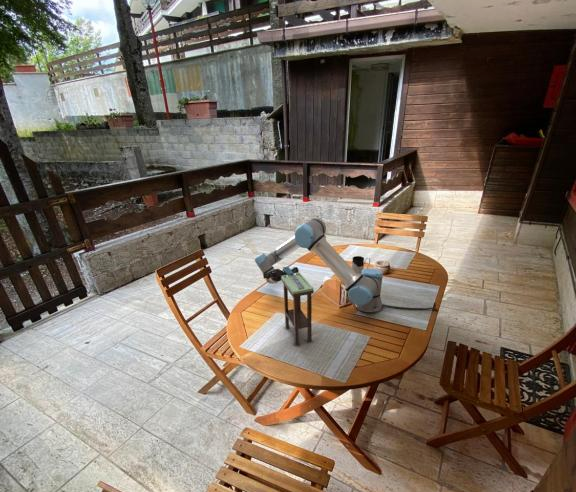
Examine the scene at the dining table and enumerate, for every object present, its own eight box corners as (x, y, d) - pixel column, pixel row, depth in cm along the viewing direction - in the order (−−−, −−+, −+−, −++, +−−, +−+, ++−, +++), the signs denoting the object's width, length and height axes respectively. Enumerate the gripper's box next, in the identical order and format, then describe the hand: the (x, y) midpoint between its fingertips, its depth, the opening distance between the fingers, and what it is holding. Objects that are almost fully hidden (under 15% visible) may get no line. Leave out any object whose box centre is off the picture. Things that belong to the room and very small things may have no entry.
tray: (281, 278, 155) (281, 275, 154) (300, 274, 157) (300, 272, 157) (293, 294, 140) (292, 292, 140) (313, 290, 143) (313, 288, 142)
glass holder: (347, 277, 219) (349, 257, 211) (364, 273, 223) (366, 253, 216) (354, 282, 212) (356, 261, 204) (372, 278, 216) (374, 257, 209)
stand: (283, 327, 170) (281, 277, 155) (301, 323, 172) (300, 274, 157) (294, 346, 155) (292, 294, 140) (313, 342, 158) (313, 290, 143)
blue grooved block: (282, 269, 163) (282, 267, 162) (288, 268, 163) (288, 266, 163) (298, 289, 143) (298, 287, 142) (304, 288, 144) (304, 286, 143)
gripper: (297, 278, 189) (307, 274, 169) (256, 285, 183) (262, 282, 163) (294, 266, 189) (305, 260, 169) (254, 272, 183) (260, 268, 163)
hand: (284, 271), depth 166 cm, fingers open, 13 cm apart
